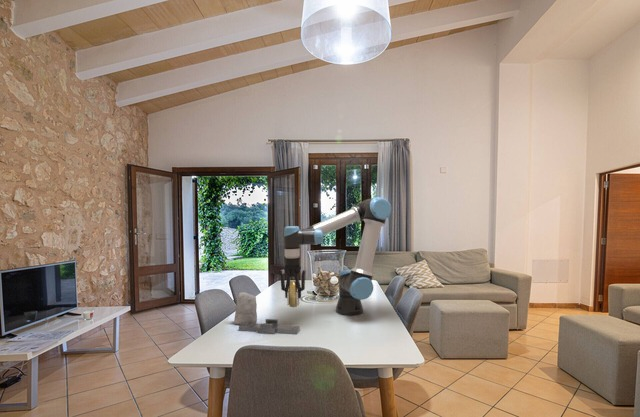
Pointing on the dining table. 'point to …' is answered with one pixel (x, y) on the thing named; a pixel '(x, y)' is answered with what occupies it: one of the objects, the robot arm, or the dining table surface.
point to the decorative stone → (245, 309)
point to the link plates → (269, 327)
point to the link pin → (292, 294)
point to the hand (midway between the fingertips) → (293, 304)
